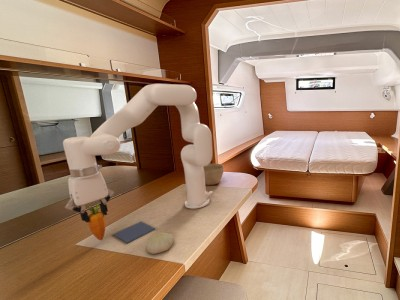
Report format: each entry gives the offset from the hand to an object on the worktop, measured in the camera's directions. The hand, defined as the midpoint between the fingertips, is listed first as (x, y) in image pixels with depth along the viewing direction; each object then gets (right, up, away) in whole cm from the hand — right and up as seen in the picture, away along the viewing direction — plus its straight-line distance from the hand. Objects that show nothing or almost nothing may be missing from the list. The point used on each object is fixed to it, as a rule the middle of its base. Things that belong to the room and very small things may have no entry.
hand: (95, 217), depth 81 cm
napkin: (+9, -9, +9) cm, 16 cm away
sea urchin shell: (+25, -11, -1) cm, 27 cm away
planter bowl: (+27, +3, +64) cm, 69 cm away
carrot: (0, -10, +2) cm, 10 cm away
